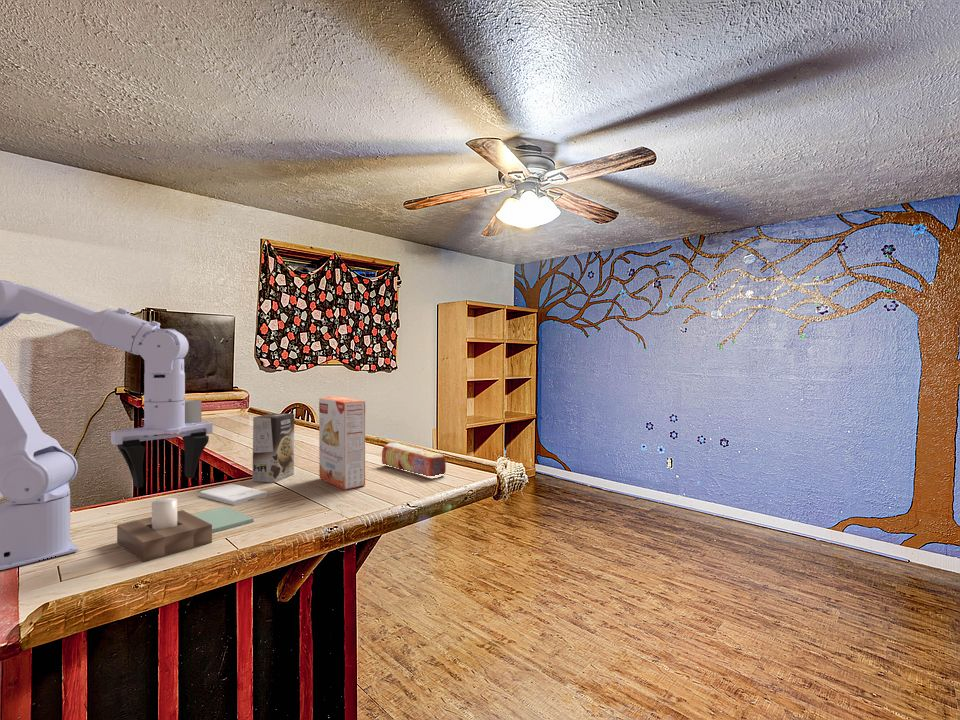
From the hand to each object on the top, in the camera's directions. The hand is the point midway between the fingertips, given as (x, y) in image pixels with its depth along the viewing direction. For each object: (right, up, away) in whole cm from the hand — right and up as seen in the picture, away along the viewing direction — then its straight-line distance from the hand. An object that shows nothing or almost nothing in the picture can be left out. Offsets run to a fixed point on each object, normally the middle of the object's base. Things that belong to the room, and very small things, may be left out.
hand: (164, 481), depth 82 cm
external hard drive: (-2, -11, +27) cm, 29 cm away
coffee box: (0, -10, +43) cm, 44 cm away
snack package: (+35, -10, +51) cm, 63 cm away
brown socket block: (0, -10, 0) cm, 10 cm away
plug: (0, -10, 0) cm, 10 cm away
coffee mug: (-76, -8, +132) cm, 152 cm away
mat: (+3, -10, +10) cm, 15 cm away
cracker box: (+19, -10, +39) cm, 44 cm away
